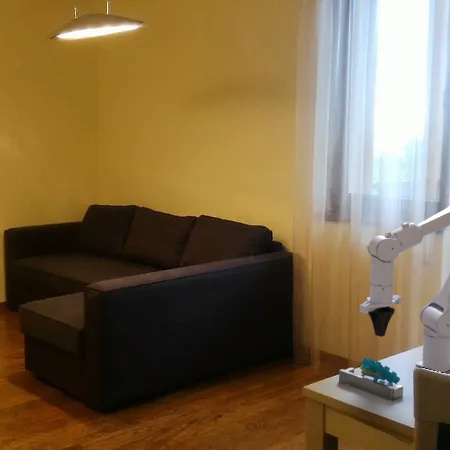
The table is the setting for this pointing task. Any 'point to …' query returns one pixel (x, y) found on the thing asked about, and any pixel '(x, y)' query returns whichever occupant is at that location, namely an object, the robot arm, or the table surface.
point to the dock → (370, 385)
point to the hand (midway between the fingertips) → (379, 335)
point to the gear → (378, 371)
